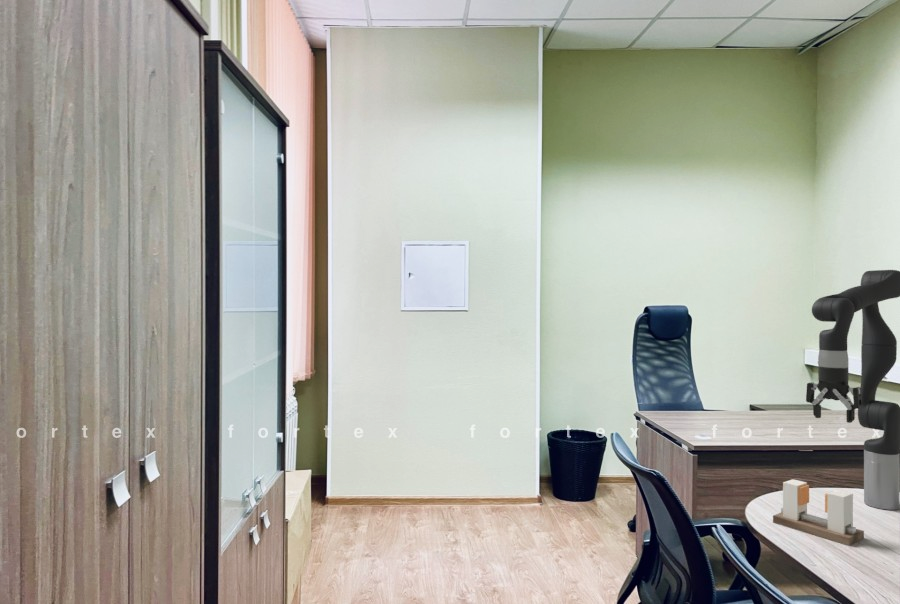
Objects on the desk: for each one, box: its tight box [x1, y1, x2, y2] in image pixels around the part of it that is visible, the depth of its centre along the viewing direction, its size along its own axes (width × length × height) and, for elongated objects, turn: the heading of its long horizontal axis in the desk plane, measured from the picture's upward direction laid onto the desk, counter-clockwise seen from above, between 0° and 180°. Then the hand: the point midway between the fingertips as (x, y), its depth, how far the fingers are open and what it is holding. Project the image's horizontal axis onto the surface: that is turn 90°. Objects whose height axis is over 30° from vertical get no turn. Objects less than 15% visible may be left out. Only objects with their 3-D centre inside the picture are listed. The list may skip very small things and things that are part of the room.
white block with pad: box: [824, 489, 854, 534], centre depth 164 cm, size 6×5×10 cm
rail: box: [772, 478, 865, 547], centre depth 169 cm, size 9×20×12 cm, turn 34°
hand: (833, 420), depth 176 cm, fingers open, 8 cm apart
